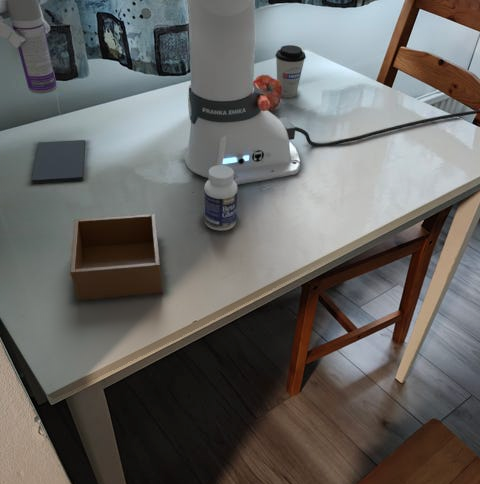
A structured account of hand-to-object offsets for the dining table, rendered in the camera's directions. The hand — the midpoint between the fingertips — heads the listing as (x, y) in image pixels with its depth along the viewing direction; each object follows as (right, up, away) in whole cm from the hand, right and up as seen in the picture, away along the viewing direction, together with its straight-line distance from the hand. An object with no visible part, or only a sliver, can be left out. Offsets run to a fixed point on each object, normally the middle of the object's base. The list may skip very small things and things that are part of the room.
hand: (34, 38), depth 84 cm
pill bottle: (+30, -28, +6) cm, 41 cm away
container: (-1, -5, +6) cm, 8 cm away
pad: (-2, -14, +17) cm, 23 cm away
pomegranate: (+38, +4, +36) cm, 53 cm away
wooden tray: (+14, -37, -3) cm, 40 cm away
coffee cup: (+44, +9, +42) cm, 62 cm away
